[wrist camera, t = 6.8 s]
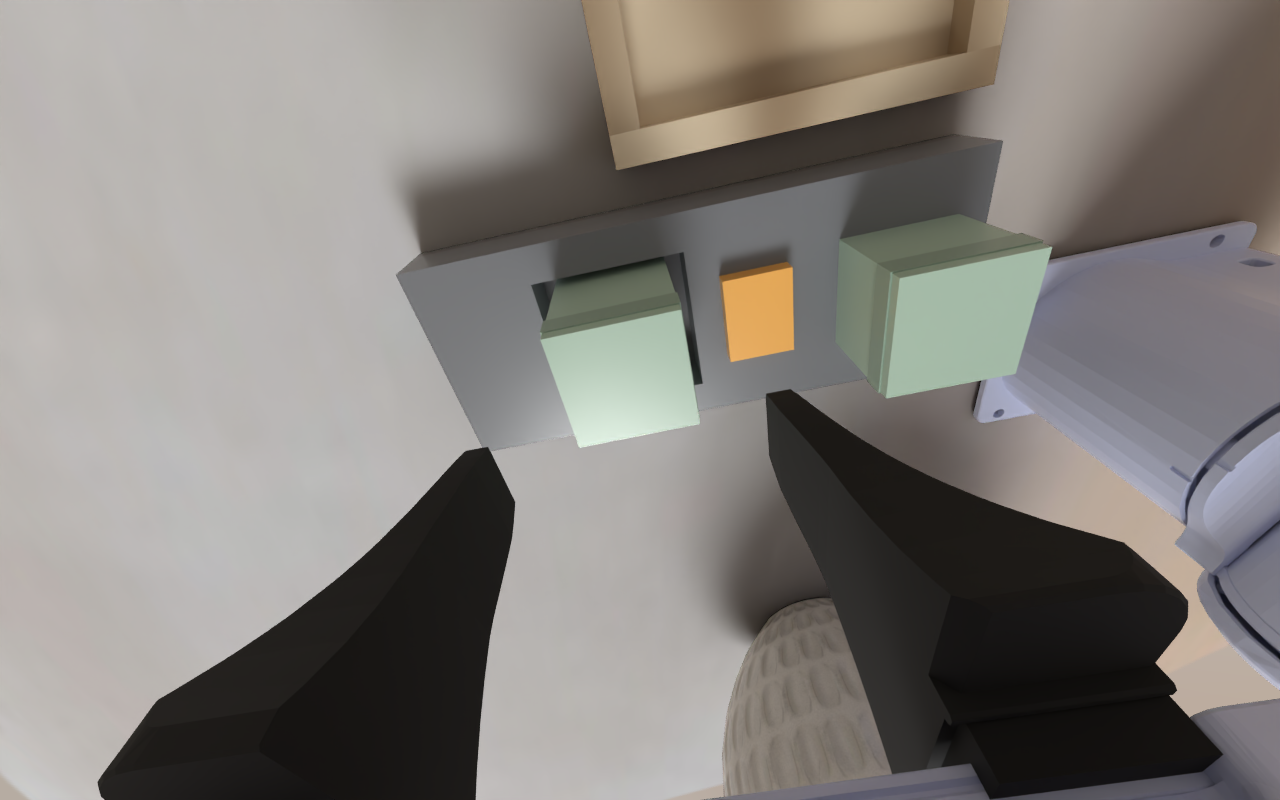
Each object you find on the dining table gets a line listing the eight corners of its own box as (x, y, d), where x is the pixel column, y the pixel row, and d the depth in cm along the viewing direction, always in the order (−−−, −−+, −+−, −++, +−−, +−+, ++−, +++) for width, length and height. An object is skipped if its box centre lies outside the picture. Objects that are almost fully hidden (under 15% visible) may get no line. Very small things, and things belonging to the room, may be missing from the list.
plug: (661, 246, 18) (682, 307, 13) (678, 341, 20) (701, 424, 15) (557, 270, 18) (538, 338, 13) (585, 361, 20) (578, 449, 15)
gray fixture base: (954, 134, 17) (1120, 155, 11) (923, 334, 21) (1031, 418, 16) (420, 253, 18) (339, 324, 13) (496, 418, 22) (460, 523, 17)
